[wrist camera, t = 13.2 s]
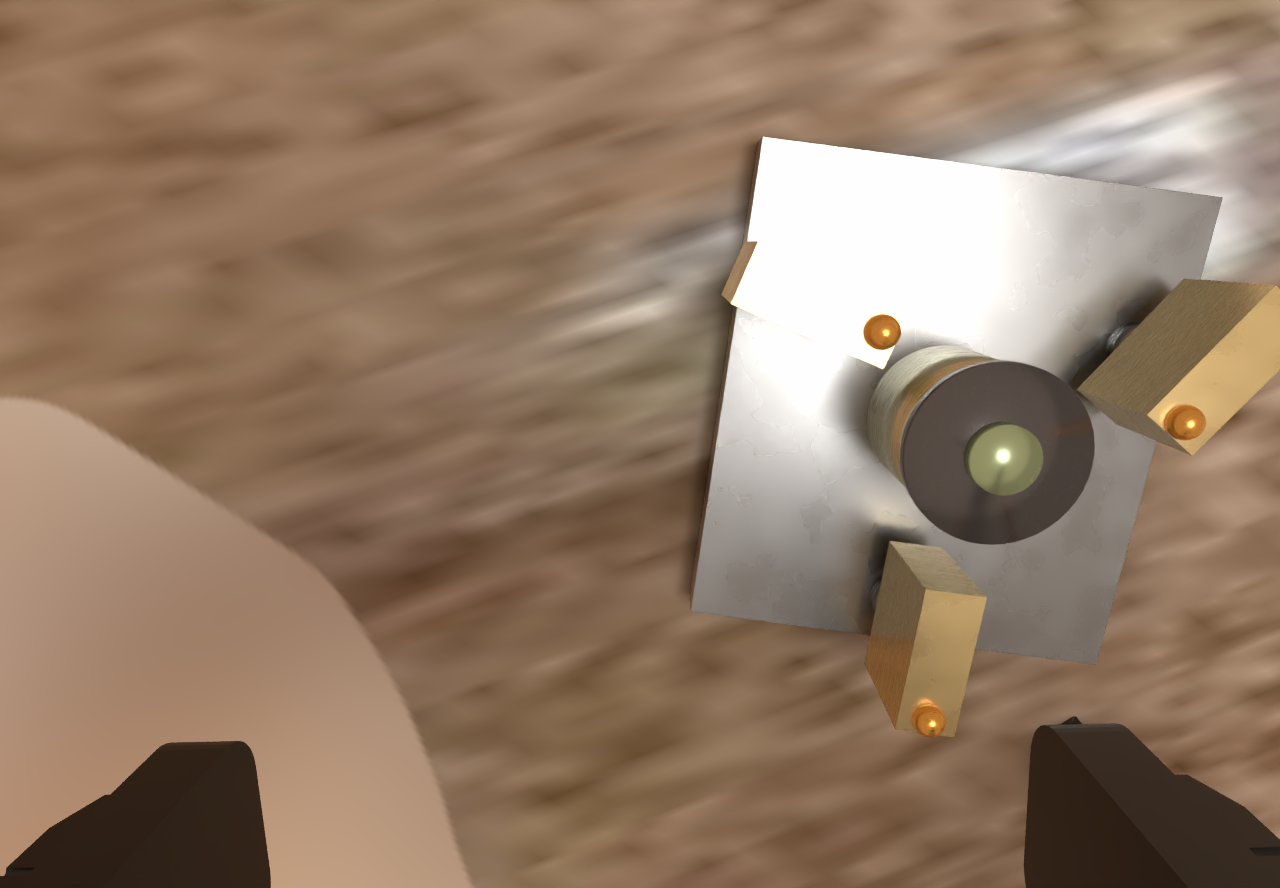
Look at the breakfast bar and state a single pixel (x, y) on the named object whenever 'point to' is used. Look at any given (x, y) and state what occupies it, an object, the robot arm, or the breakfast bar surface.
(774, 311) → the cream rectangular block
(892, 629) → the block with orange knob
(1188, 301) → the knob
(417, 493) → the breakfast bar surface
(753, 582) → the plate
